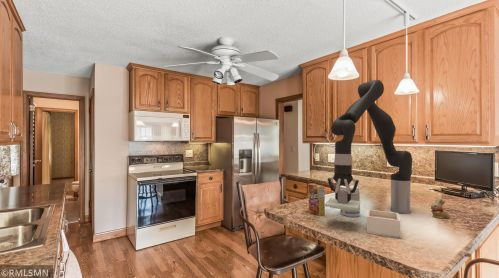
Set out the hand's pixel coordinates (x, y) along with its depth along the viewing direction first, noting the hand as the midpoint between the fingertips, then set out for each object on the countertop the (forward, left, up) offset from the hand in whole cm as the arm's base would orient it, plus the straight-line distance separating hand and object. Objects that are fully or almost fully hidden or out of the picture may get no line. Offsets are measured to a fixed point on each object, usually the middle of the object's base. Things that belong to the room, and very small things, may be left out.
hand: (342, 200), depth 113 cm
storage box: (0, +16, -11) cm, 20 cm away
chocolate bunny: (-35, +42, -11) cm, 56 cm away
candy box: (-13, -15, -11) cm, 23 cm away
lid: (0, 0, -2) cm, 2 cm away
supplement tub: (-19, +1, -11) cm, 22 cm away
